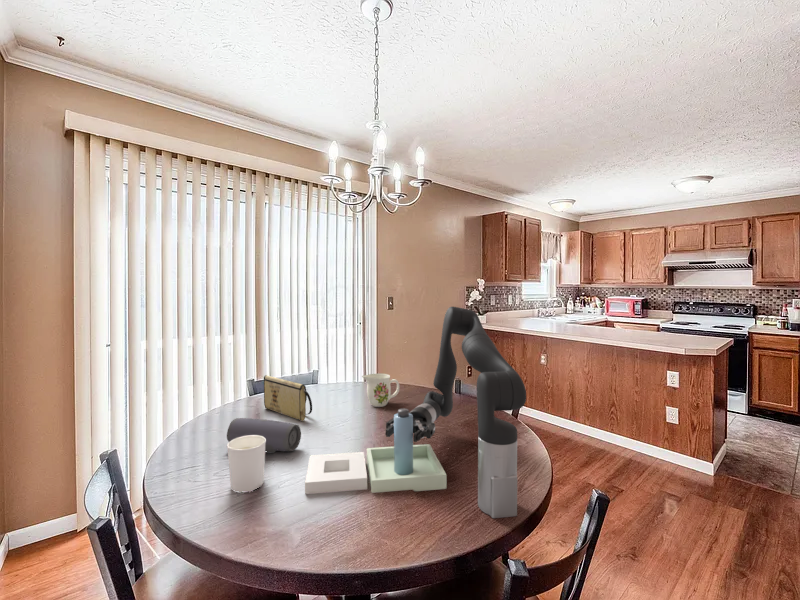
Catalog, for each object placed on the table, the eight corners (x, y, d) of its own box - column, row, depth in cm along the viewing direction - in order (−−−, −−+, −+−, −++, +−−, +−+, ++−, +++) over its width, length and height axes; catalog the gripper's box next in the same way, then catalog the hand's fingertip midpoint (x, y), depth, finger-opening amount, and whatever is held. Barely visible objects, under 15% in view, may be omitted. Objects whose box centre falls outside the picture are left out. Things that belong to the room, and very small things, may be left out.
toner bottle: (414, 474, 109) (414, 412, 108) (395, 475, 108) (395, 414, 107) (411, 465, 114) (411, 406, 113) (393, 466, 113) (392, 407, 112)
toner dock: (367, 491, 101) (367, 477, 101) (305, 496, 99) (304, 482, 99) (363, 463, 117) (363, 451, 117) (310, 467, 115) (310, 455, 114)
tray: (446, 488, 102) (446, 474, 102) (371, 495, 99) (371, 480, 99) (429, 455, 122) (429, 444, 122) (366, 460, 119) (366, 448, 119)
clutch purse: (316, 418, 157) (316, 382, 156) (302, 423, 152) (302, 385, 151) (274, 404, 175) (274, 372, 175) (261, 408, 170) (260, 375, 169)
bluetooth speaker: (302, 448, 128) (302, 418, 128) (287, 460, 120) (286, 428, 119) (244, 440, 135) (243, 412, 134) (225, 451, 126) (225, 421, 125)
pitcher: (403, 405, 173) (403, 375, 173) (365, 410, 167) (365, 379, 166) (395, 399, 183) (395, 370, 183) (358, 403, 177) (358, 373, 176)
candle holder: (254, 473, 111) (254, 432, 111) (273, 484, 105) (273, 440, 105) (221, 486, 104) (220, 443, 103) (239, 499, 97) (238, 453, 97)
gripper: (401, 403, 126) (378, 419, 111) (442, 409, 120) (424, 426, 105) (401, 426, 126) (378, 444, 112) (442, 433, 121) (424, 453, 106)
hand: (400, 436), depth 109 cm, fingers open, 8 cm apart
